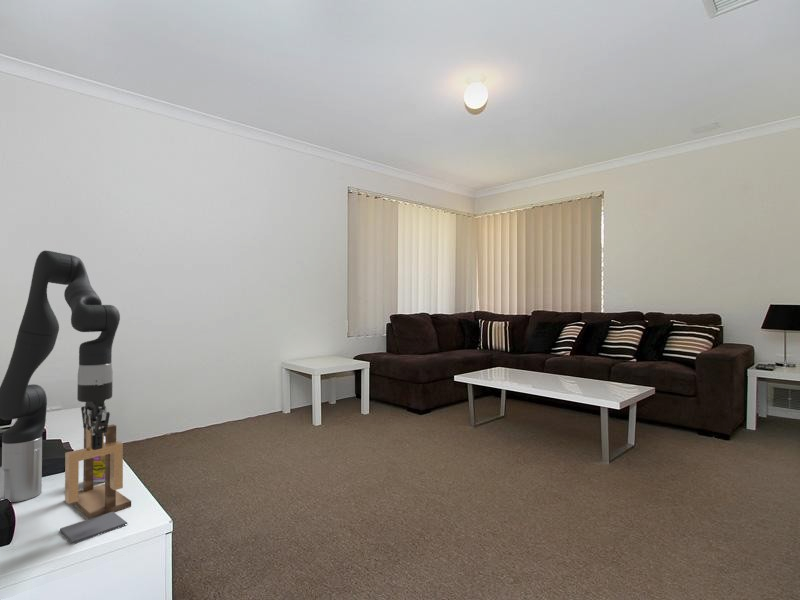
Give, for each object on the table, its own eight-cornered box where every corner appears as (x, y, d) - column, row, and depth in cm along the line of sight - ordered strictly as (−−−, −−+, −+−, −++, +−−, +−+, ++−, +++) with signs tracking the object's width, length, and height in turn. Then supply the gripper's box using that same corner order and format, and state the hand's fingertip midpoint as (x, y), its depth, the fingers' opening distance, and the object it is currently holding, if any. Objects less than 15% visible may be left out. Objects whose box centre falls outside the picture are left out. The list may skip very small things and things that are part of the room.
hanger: (68, 503, 109) (69, 435, 110) (64, 500, 111) (65, 432, 111) (122, 487, 119) (122, 424, 119) (118, 485, 121) (118, 422, 121)
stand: (90, 519, 119) (91, 430, 120) (67, 499, 132) (68, 418, 132) (131, 506, 127) (131, 422, 127) (105, 488, 140) (106, 412, 140)
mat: (72, 544, 107) (72, 541, 107) (59, 530, 113) (59, 528, 113) (127, 524, 116) (127, 522, 116) (112, 513, 123) (112, 511, 123)
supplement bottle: (87, 484, 143) (87, 444, 143) (94, 476, 149) (95, 438, 149) (110, 482, 145) (111, 442, 145) (117, 474, 151) (117, 436, 151)
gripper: (69, 380, 117) (68, 445, 117) (87, 386, 108) (86, 457, 108) (102, 376, 123) (101, 439, 122) (121, 382, 114) (121, 449, 114)
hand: (94, 447), depth 115 cm, fingers closed on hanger, 3 cm apart
